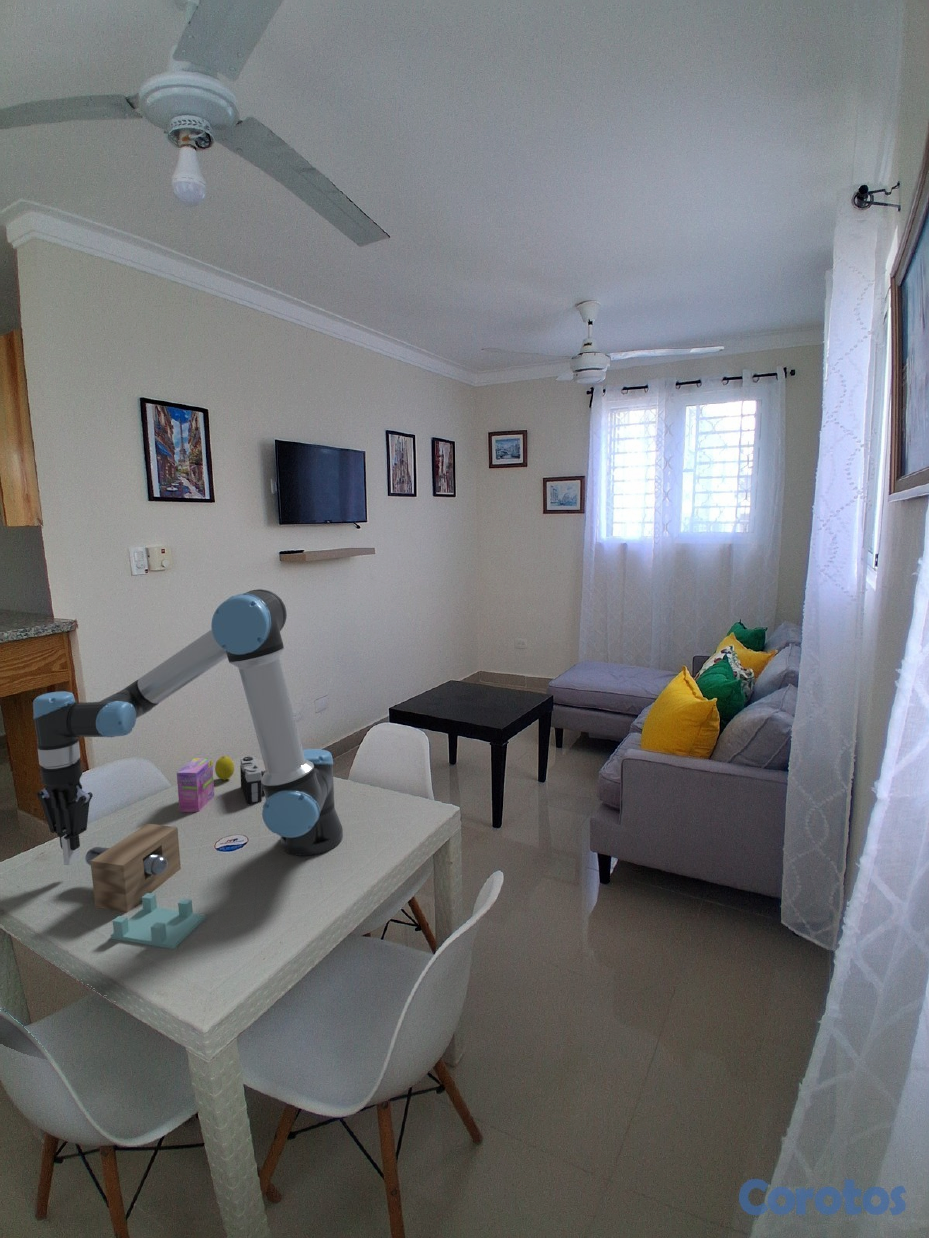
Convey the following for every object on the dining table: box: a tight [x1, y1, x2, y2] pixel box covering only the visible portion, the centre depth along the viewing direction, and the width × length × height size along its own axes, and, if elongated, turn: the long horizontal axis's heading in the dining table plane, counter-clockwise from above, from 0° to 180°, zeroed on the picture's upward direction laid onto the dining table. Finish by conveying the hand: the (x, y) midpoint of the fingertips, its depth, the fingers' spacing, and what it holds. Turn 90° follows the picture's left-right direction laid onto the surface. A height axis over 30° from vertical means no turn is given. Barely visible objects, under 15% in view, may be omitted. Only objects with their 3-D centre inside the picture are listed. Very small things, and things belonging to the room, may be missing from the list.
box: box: [176, 757, 215, 813], centre depth 170 cm, size 10×6×12 cm, turn 179°
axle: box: [84, 846, 168, 875], centre depth 131 cm, size 20×4×4 cm, turn 77°
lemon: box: [214, 755, 235, 781], centre depth 186 cm, size 6×6×8 cm
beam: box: [90, 823, 182, 913], centre depth 130 cm, size 8×16×10 cm, turn 167°
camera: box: [239, 756, 266, 805], centre depth 176 cm, size 14×9×10 cm, turn 20°
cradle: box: [110, 893, 206, 950], centre depth 117 cm, size 14×9×4 cm, turn 77°
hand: (72, 861), depth 135 cm, fingers closed
